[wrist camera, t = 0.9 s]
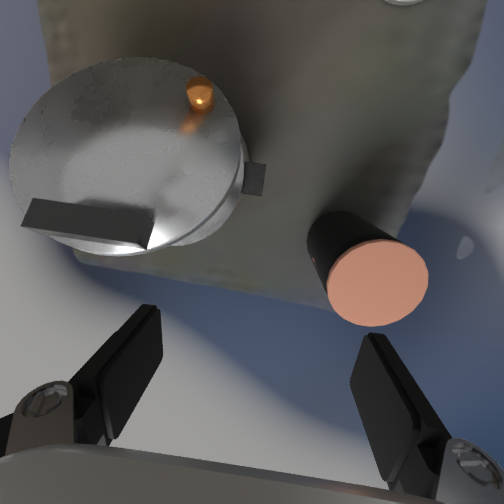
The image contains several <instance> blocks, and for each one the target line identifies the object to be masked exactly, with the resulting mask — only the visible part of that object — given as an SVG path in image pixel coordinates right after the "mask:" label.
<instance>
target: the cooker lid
mask: <svg viewBox="0 0 504 504" xmlns="http://www.w3.org/2000/svg"><path fill="white" fill-rule="evenodd" d="M240 159H241V141H240V130H239V125H238V121H237V118H236V115H235V112H234V110H233V108H232V106H231V104H230V102H229V101H228V99H227V98H226V96H225V95H224V94H223V92H222V91H221V90H220V89H219V88H218V87H217V86H216V85H215V84H214V83H213V82H212V81H210V80H209V79H208V78H206V77H205V76H204V75H202V74H201V73H199V72H197V71H195V70H194V69H192V68H189V67H187V66H185V65H182V64H180V63H176V62H173V61H169V60H164V59H159V58H150V57H128V58H120V59H113V60H109V61H104V62H101V63H98V64H94V65H91V66H89V67H86V68H84V69H82V70H79V71H77V72H75V73H73V74H71V75H70V76H68V77H66V78H64V79H63V80H61V81H60V82H58V83H57V84H56V85H54V86H53V87H52V88H50V89H49V90H48V91H47V92H46V93H45V94H44V95H42V96H41V97H40V98H39V100H38V101H37V102H36V103H35V104H34V105H33V106H32V108H31V109H30V110H29V111H28V113H27V114H26V116H25V117H24V119H23V121H22V123H21V124H20V126H19V128H18V130H17V132H16V135H15V138H14V140H13V144H12V148H11V152H10V161H9V174H10V182H11V186H12V190H13V193H14V196H15V198H16V200H17V203H18V205H19V206H20V207H21V209H22V211H23V212H24V214H25V217H24V220H23V222H22V224H21V226H22V227H24V228H27V229H29V230H32V231H35V232H37V233H40V234H44V235H48V236H50V237H51V238H54V239H55V240H57V241H59V242H61V243H64V244H66V245H69V246H71V247H74V248H77V249H79V250H82V251H85V252H89V253H94V254H98V255H108V256H132V255H138V254H144V253H149V252H152V251H156V250H159V249H162V248H165V247H167V246H170V245H172V244H174V243H177V242H179V241H180V240H182V239H184V238H186V237H187V236H189V235H191V234H192V233H194V232H195V231H196V230H198V229H199V228H200V227H202V226H203V225H204V224H205V223H206V222H207V221H208V220H209V219H210V218H211V217H213V216H214V215H215V213H216V212H217V211H218V210H219V208H220V207H221V206H222V205H223V203H224V202H225V200H226V199H227V197H228V195H229V194H230V192H231V190H232V188H233V185H234V183H235V181H236V178H237V174H238V171H239V167H240Z"/></svg>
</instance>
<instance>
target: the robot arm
mask: <svg viewBox="0 0 504 504" xmlns="http://www.w3.org/2000/svg"><path fill="white" fill-rule="evenodd" d="M384 1H386V2H389V3H391V4H394V5H399V6H406V5H413V4H416V3H420V2H422V1H424V0H384ZM161 330H162V329H161V314H160V309H157V306H156V305H149V304H142V305H141V306H140V307H139V309H137V311H135V313H134V314H133V315H132V316H131V317H130V318H129V319H128V320H127V321H126V322H125V323H124V324H123V326H122V327H121V328H120V329H119V330H118V331H116V332H115V333H114V334H113V335H112V336H111V337H110V338H109V339H108V340H107V341H106V342H105V343H104V344H103V345H102V346H101V348H99V350H98V351H97V352H96V353H95V354H94V355H93V356H92V357H91V358H90V359H89V360H88V361H87V362H86V363H85V365H84V366H83V367H82V368H81V369H80V370H79V371H78V372H77V373H76V374H75V375H74V376H73V377H72V378H71V379H70V380H69V382H66V381H53V382H49V383H46V384H44V385H41V386H39V387H37V388H36V389H34V390H33V391H31V392H29V393H28V394H27V395H26V396H25V397H23V398H22V399H21V401H20V402H19V403H18V405H17V406H16V408H15V411H14V413H12V414H9V415H7V416H5V417H3V418H0V504H504V471H503V469H502V468H501V467H500V466H499V465H498V463H497V462H496V461H495V460H494V459H493V458H492V457H491V456H490V455H489V454H488V453H486V452H485V451H484V450H482V449H481V448H480V447H478V446H477V445H475V444H473V443H471V442H469V441H466V440H464V439H461V438H452V437H451V435H450V434H449V432H448V431H447V429H446V428H445V426H444V425H443V423H442V422H441V420H440V418H439V417H438V415H437V414H436V412H435V411H434V409H433V408H432V406H431V405H430V403H429V401H428V400H427V398H426V397H425V395H424V394H423V392H422V391H421V390H420V388H419V386H418V385H417V383H416V382H415V380H414V378H413V377H412V376H411V374H410V373H409V371H408V370H407V368H406V366H405V365H404V363H403V362H402V360H401V359H400V357H399V356H398V354H397V352H396V351H395V349H394V348H393V346H392V345H391V343H390V342H389V340H388V339H387V337H386V336H385V335H384V334H379V333H369V334H368V335H365V336H364V338H363V341H362V344H361V347H360V350H359V353H358V357H357V360H356V363H355V366H354V369H353V372H352V375H351V378H350V387H351V391H352V394H353V396H354V399H355V402H356V405H357V408H358V411H359V414H360V417H361V420H362V422H363V426H364V428H365V431H366V434H367V437H368V440H369V443H370V446H371V449H372V452H373V455H374V458H375V461H376V464H377V466H378V469H379V472H380V475H381V477H382V479H383V480H384V481H386V482H387V484H388V487H389V489H390V490H385V489H380V488H374V487H369V486H364V485H358V484H351V483H345V482H339V481H333V480H326V479H321V478H315V477H309V476H302V475H296V474H290V473H284V472H277V471H270V470H265V469H257V468H252V467H245V466H239V465H233V464H226V463H220V462H214V461H207V460H201V459H194V458H187V457H181V456H174V455H167V454H161V453H154V452H147V451H141V450H133V449H125V448H117V447H109V445H110V443H111V441H112V440H113V439H117V438H118V437H119V435H120V433H121V431H122V430H123V428H124V426H125V425H126V423H127V421H128V419H129V418H130V415H131V414H132V412H133V410H134V409H135V407H136V405H137V403H138V402H139V400H140V398H141V396H142V394H143V393H144V391H145V389H146V387H147V386H148V384H149V382H150V380H151V379H152V377H153V375H154V373H155V372H156V370H157V368H158V366H159V364H160V363H161V361H162V357H163V345H162V331H161Z"/></svg>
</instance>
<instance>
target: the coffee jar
mask: <svg viewBox="0 0 504 504" xmlns="http://www.w3.org/2000/svg"><path fill="white" fill-rule="evenodd" d="M307 248H308V252H309V254H310V257H311V259H312V261H313V264H314V266H315V268H316V271H317V273H318V275H319V278H320V280H321V282H322V285H323V287H324V289H325V291H326V293H327V295H328V298H329V300H330V302H331V304H332V306H333V308H334V310H335V311H336V312H337V313H338V314H339V315H341V316H342V317H343V318H344V319H346V320H348V321H350V322H352V323H355V324H357V325H364V326H370V327H371V326H380V325H387V324H389V323H392V322H395V321H398V320H400V319H402V318H403V317H405V316H406V315H407V314H409V313H410V312H412V311H413V310H414V309H415V308H416V306H417V305H418V304H419V303H420V302H421V301H422V299H423V297H424V294H425V291H426V290H427V287H428V271H427V268H426V265H425V262H424V260H423V259H422V258H421V257H420V255H419V254H418V253H417V252H416V251H415V250H414V249H412V248H410V247H408V246H406V245H404V244H403V243H402V242H401V241H399V240H397V239H396V238H394V237H392V236H390V235H389V234H387V233H385V232H384V231H382V230H380V229H378V228H377V227H375V226H373V225H372V224H370V223H368V222H367V221H365V220H363V219H361V218H360V217H358V216H356V215H354V214H352V213H349V212H341V211H339V212H334V213H329V214H327V215H325V216H323V217H321V218H320V219H319V220H318V221H317V222H316V223H315V224H314V225H313V226H312V228H311V230H310V231H309V234H308V238H307Z"/></svg>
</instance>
